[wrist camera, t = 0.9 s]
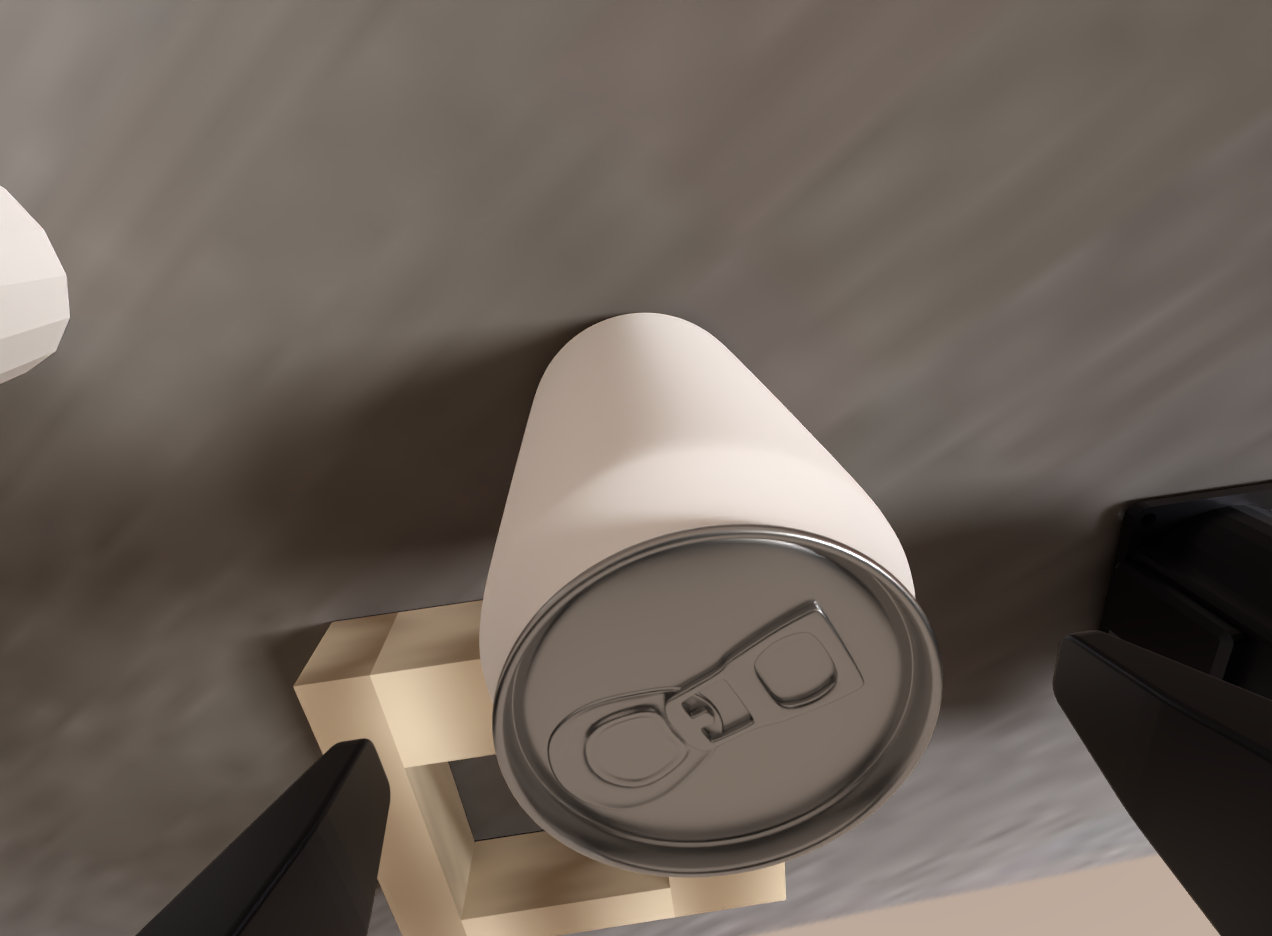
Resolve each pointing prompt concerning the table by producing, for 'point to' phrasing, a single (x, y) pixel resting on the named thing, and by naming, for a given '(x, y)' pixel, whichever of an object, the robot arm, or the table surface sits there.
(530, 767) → the can
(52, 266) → the white cup
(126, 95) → the table surface
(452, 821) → the frame
